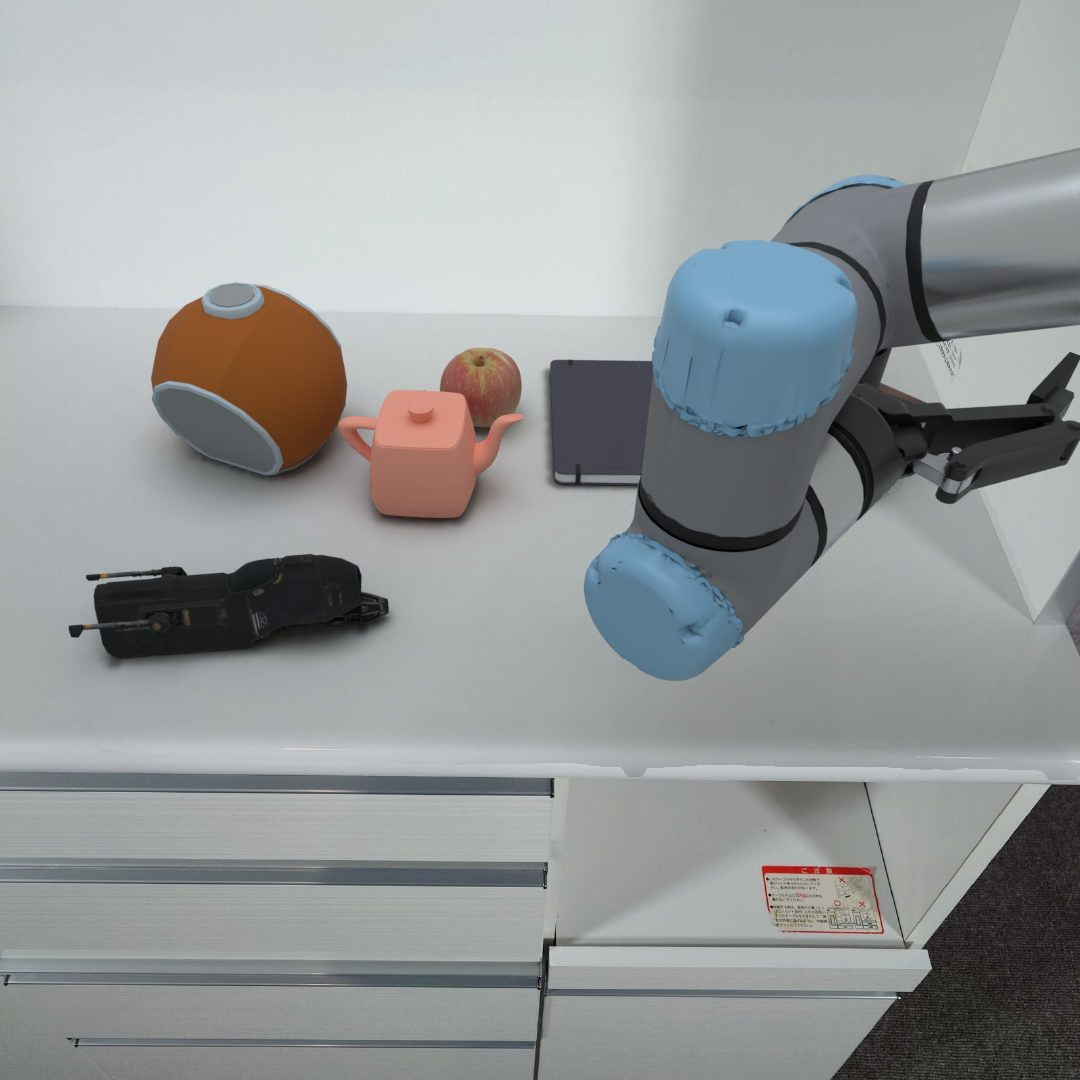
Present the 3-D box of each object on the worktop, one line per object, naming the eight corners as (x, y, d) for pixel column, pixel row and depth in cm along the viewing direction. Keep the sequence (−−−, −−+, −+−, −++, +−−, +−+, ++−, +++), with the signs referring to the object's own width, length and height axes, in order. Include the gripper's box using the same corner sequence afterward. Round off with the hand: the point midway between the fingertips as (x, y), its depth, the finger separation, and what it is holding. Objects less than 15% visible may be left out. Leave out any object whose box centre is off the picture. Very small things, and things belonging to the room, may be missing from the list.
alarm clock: (383, 417, 103) (368, 274, 91) (296, 513, 91) (265, 363, 79) (239, 377, 108) (206, 236, 96) (139, 463, 96) (87, 315, 84)
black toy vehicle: (107, 611, 82) (75, 546, 76) (390, 588, 84) (379, 523, 78) (89, 672, 77) (53, 607, 72) (389, 646, 79) (378, 581, 74)
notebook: (676, 486, 96) (654, 371, 111) (678, 474, 95) (656, 360, 110) (554, 485, 95) (549, 370, 111) (554, 473, 94) (549, 358, 110)
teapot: (356, 449, 99) (345, 366, 91) (524, 457, 99) (526, 374, 91) (335, 521, 90) (321, 437, 83) (519, 530, 90) (520, 446, 83)
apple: (519, 443, 100) (519, 381, 95) (437, 439, 100) (433, 377, 95) (523, 397, 106) (524, 336, 101) (446, 393, 107) (443, 333, 101)
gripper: (623, 434, 60) (794, 315, 71) (998, 638, 48) (1131, 455, 59) (634, 333, 54) (817, 222, 66) (1058, 533, 43) (1190, 355, 54)
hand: (966, 332), depth 63 cm, fingers open, 13 cm apart
